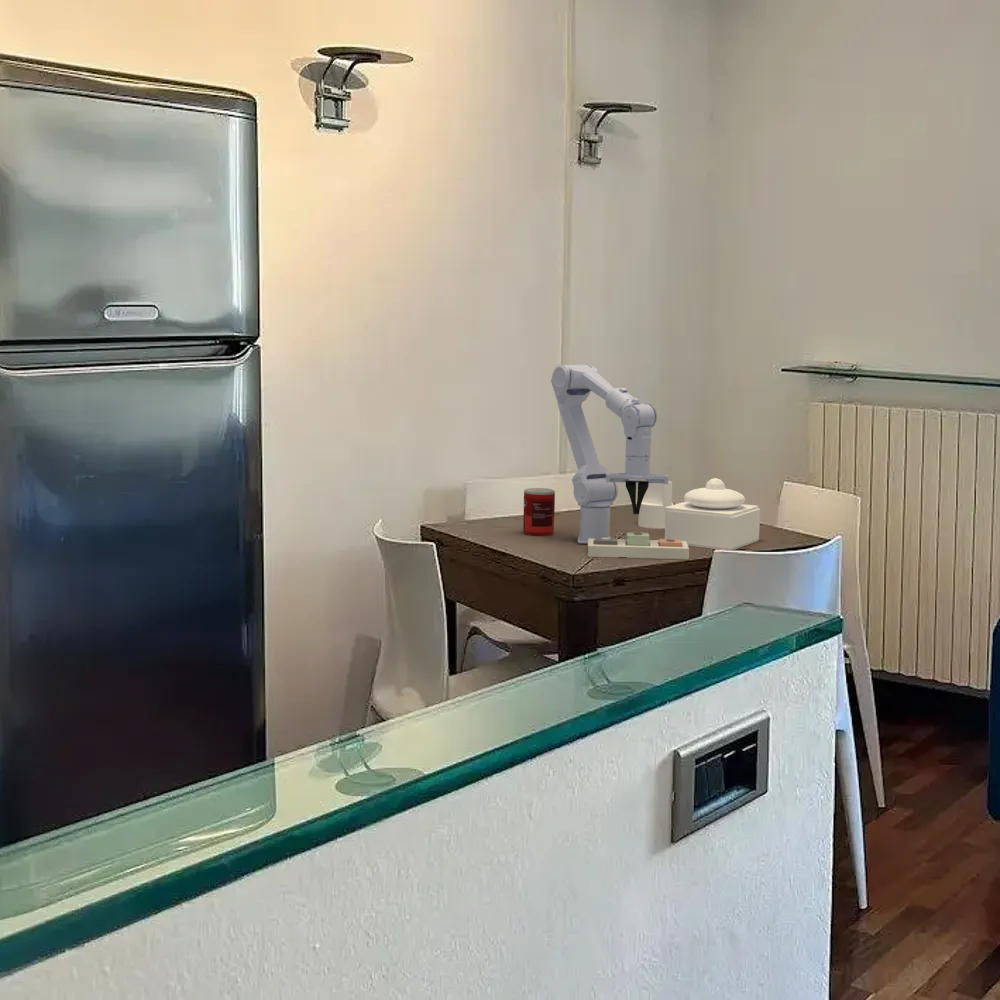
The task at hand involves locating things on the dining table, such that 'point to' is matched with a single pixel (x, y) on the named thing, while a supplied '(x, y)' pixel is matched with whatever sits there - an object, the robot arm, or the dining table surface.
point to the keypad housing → (638, 550)
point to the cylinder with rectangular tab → (655, 505)
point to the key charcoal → (605, 540)
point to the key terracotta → (670, 542)
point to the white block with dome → (713, 518)
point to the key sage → (638, 538)
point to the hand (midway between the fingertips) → (636, 513)
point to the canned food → (539, 511)
